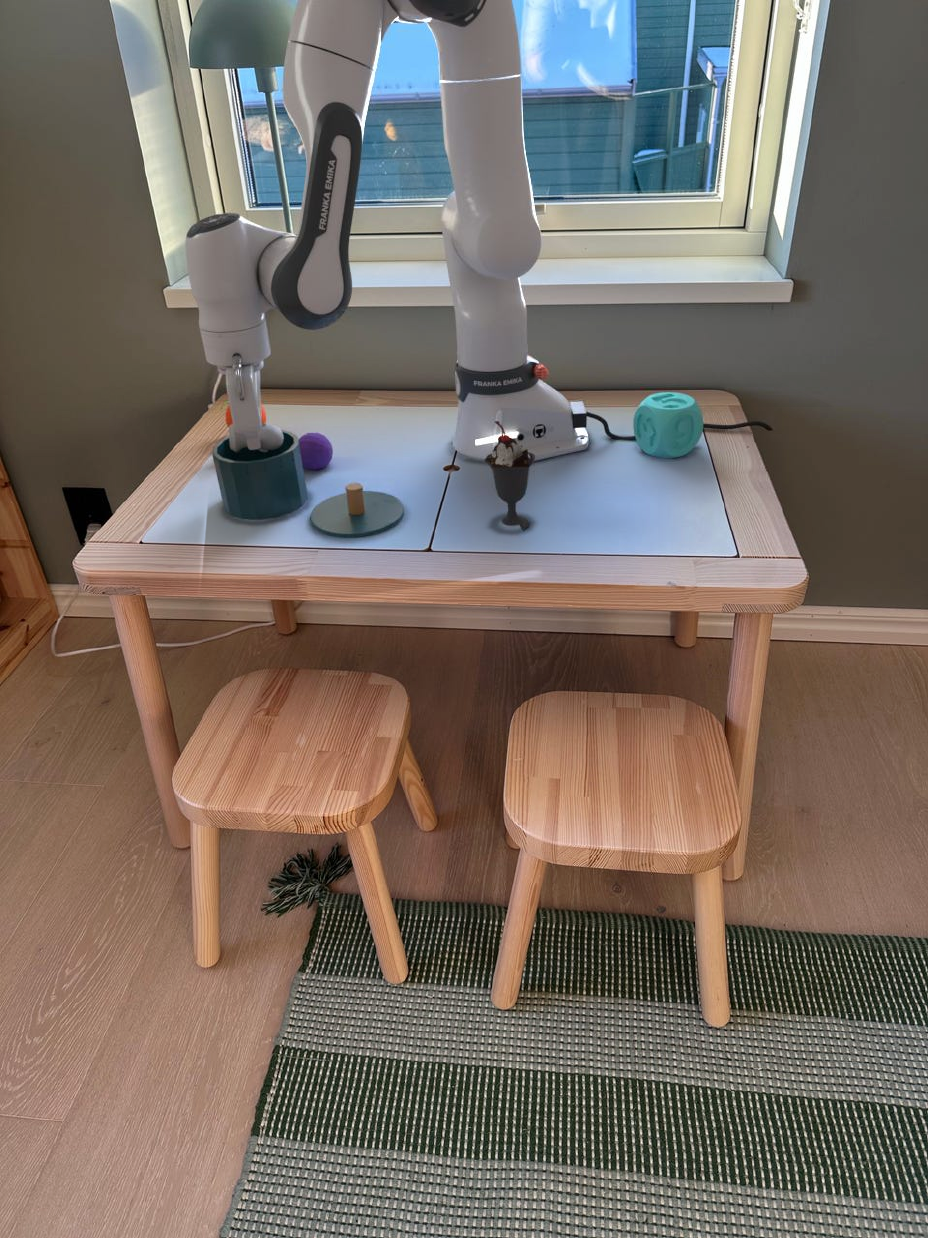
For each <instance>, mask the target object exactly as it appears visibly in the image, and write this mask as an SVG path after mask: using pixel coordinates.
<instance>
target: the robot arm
mask: <svg viewBox="0 0 928 1238" xmlns="http://www.w3.org/2000/svg"><path fill="white" fill-rule="evenodd" d="M399 23H405V24H423V23H426V25H427V26H428V28H429V29H430V32H431V33H432V36H433V38H434V41H435V45H436V50H437V53H438V76H439V77H438V78H439V91H440V104H441V105H440V106H441V118H442V119H441V121H442V133H443V146H444V150H445V153H446V156H447V160H448V165H449V169H450V174H451V178H452V184H453V191H452V192H450V194H449V195H448V196H447V197H446V198H445V200H444V202H443V204H442V207H441V211H440V221H439V222H440V229H441V233H442V238H443V239H442V240H443V247H444V255H445V263H446V269H447V274H448V280H449V281H448V282H449V286H450V292H451V296H452V303H453V310H454V320H455V335H456V336H455V337H456V338H455V339H456V353H457V355H456V356H457V360H456V361H455V363H454V364H455V366H454V367H455V368H454V369H455V371H454V382H455V383H454V384H455V393H456V396H457V399H458V400H457V401H458V403H457V417H456V426H455V432H454V436H453V440H452V447H453V449H454V450H455V451H457V452H458V453H459V454H461V455H464V456H466V457H469V458H473V459H479V460H484V461H485V459H486V456H488V455H489V454H492V451H493V449H494V446H496V445H497V444H498V437H499V436H501V435H502V429H501V427H500V426H498V425H497V424H496V423H495V421H499V424H500V425H501V426H502V427H503V429H504V431H505V434H506V435H508V436H509V437H510V438H513V439H516V440H517V441H518V442H520V443H521V445H522V448H523V449H524V450H526V449H527V450H528V452H530V453H533V454H534V455H535V460H534V462H535V461H540V460H545V459H549V458H553V457H558V456H563V455H566V454H567V455H568V454H572V453H575V452H580V451H585V450H587V448H588V447H589V444H590V439H589V433H588V431H587V429H586V428H587V423H588V422H587V421H588V418H591V419H594V420H596V421H598V422H600V423H601V424H602V426H603V429H604V432H605V434H606V436H607V437H609V438H610V439H612V440H616V441H617V440H620V441H637V440H636V438H635V435H630V436H621V435H617V434H614V433H613V432H611V430H610V426H609V424H608V421H607V420H606V419H605V418H604V417H603V416H600V415H598V414H596V413H592V412H589V411H587V410H586V407H585V404H584V401H582V400H581V401H580V400H579V401H569V400H568V399H567V398H566V397H565V396H564V395H563V394H562V393H561V392H560V391H558V390H556V389H555V388H553V387H552V386H550V385H549V384H548V383H546V382H544V381H543V380H546V379H547V377H549V373H550V372H549V369H548V368H547V367H546V366H545V364H542V363H540V362H539V361H538V359H536V358H533V357H532V356H531V354H528V309H527V304H526V301H525V297H524V293H523V290H522V287H521V286H522V285H521V279H520V277H522V276H524V275H526V274H527V273H528V272H530V270H531V269H533V267H534V266H535V264H537V261H538V259H539V257H540V254H541V250H542V243H543V242H542V241H543V237H542V232H541V228H540V225H539V222H538V218H537V215H536V208H535V203H534V195H533V188H532V183H531V182H532V181H531V177H530V176H531V175H530V171H529V170H530V169H529V166H528V160H527V155H526V147H525V137H524V118H523V117H524V116H523V115H524V114H523V113H524V112H523V93H522V92H523V87H522V86H523V85H522V59H521V47H520V39H519V32H518V31H519V30H518V26H517V20H516V14H515V7H514V4H513V0H297V2H296V5H295V9H294V13H293V16H292V21H291V25H290V29H289V35H288V39H287V44H286V50H285V55H284V64H283V72H282V103H283V105H284V108H285V111H286V113H287V115H288V118H289V119H290V121H291V122H292V124H293V125H294V127H295V128H296V130H297V132H298V135H299V137H300V140H301V142H302V146H303V149H304V153H305V154H304V155H305V161H306V163H305V164H306V171H305V179H304V186H303V195H302V201H301V208H300V215H299V221H298V228H297V233H296V234H295V233H291V232H286V231H280V230H275V229H271V228H269V227H264V226H262V225H260V224H257V223H255V222H253V221H251V220H249V219H247V218H245V217H243V215H241V214H240V213H237V212H224V213H217V214H212V215H209V216H207V217H204V218H202V219H200V220H198V221H196V222H195V223H194V224H192V225H191V227H190V228H189V229H188V231H187V233H186V236H185V259H186V267H187V273H188V279H189V283H190V289H191V292H192V293H191V294H192V296H193V298H194V300H195V302H196V304H197V308H198V328H199V332H200V337H201V341H202V346H203V350H204V351H203V352H204V355H205V361H206V362H207V363H208V364H210V365H212V366H215V367H217V372H218V373H219V374H220V375H223V376H225V387H226V393H227V394H226V395H227V399H228V400H227V401H229V402H228V407H229V406H230V411H231V416H232V422H233V426H234V429H235V432H236V433H238V434H243V433H244V435H245V437H246V441H247V446H248V448H249V449H250V450H255V449H259V448H260V447H261V444H260V437H259V431H260V430H261V428H262V421H261V405H262V397H261V394H262V393H261V370H263V368H264V367H265V363H264V360H266V359H267V358H268V357H270V356H271V354H272V349H271V344H270V338H269V331H268V325H267V321H266V313H267V312H268V311H270V310H276V309H277V310H278V311H279V312H280V313H281V315H283V317H284V318H285V319H286V320H287V321H288V322H290V323H291V324H292V325H294V326H296V327H297V328H300V329H303V330H309V331H314V330H315V331H316V330H321V329H324V328H327V327H330V326H332V325H333V324H335V323H336V322H337V321H338V320H339V319H340V318H341V317H342V316H343V315H344V314H345V312H346V311H347V309H348V308H349V304H350V302H351V299H352V292H353V281H352V280H353V279H352V271H351V265H350V257H349V256H350V255H349V245H350V237H351V230H352V225H353V217H354V210H355V204H356V199H357V198H356V197H357V192H358V191H357V190H358V183H359V178H360V170H361V162H362V154H363V142H364V135H365V134H364V133H365V126H366V124H365V123H366V118H367V113H368V109H369V103H370V98H371V93H372V89H373V85H374V81H375V75H376V71H377V65H378V61H379V60H378V59H379V54H380V49H381V48H380V47H381V45H382V42H383V40H384V37H385V35H386V33H387V31H388V30H389V28H390V26H391V25H392V24H399ZM753 426H758V427H761V428H763V429H765V430H766V431H767V432H769V431H774V429H773V428H772V426H771V425H769V424H768V423H766V422H764V421H760V420H750V421H745V422H740V423H735V424H734V423H733V424H715V423H704V422H703V429H713V430H736V429H741V428H746V427H753ZM503 436H504V432H503Z"/></svg>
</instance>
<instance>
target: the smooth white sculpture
mask: <svg viewBox="0 0 928 1238" xmlns="http://www.w3.org/2000/svg"><path fill="white" fill-rule="evenodd" d="M280 429H281V428H279V426H275V425H271V424H267V422H266V423H262V428H261V430H260V431H259V437H260V444H261V447H260V448H259V450H260V451H261V452H268V450H274V449H277V448H279V447H280V446H281V445H282V443H283V439H284V438H283V433H282V431H281V430H282V429H281V430H280ZM228 436H229V441H230V449H232V450H233V451H235V452H238V451H239V450H240V449H242V448H244V447H248V446H247V441H246V437H245V435H244V433H243V434H238V433H236V432H235V429H234V426H233V424H232V425H230V426H229V427H228Z"/></svg>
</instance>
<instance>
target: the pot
mask: <svg viewBox="0 0 928 1238" xmlns="http://www.w3.org/2000/svg"><path fill="white" fill-rule="evenodd" d="M279 429H280V430H281V431H282V433H283V438H284V439H283V443H282V445H281V446H280V447H279V448H277V449H274V450H268V452H261V451H260V450H259V449H255V450H250V449H249V448H248V447H244V448H242V449H240V450H239V451H238V452H235V451H233V450H232V449H230V441H229V435H228V436H226V437H224V438H222V439H219V440H218V441H217V442H216V444H214V445H213V446H212V449H211V451H212V452H211V456H212V459H213V464H214V469H215V474H216V478H217V482H218V486H219V493H220V496H221V501H222V505H223V510H224V511H225V512H226V513H227V514H228V515H229V516H231V517H233V518H237V519H241V520H248V521H249V520H251V521H261V520H262V521H263V520H269V519H275V518H279V517H283V516H286V515H288V514H291V513H294V511H296V510H298V509H299V508H301V507H303V506H304V504H305V503H306V502H307V500H308V489H307V484H306V478H305V471H304V467H303V465H302V459H301V452H300V446H299V436H297V435H296V434H295V433H293V432H292V431H289V430H284V429H281V428H279Z"/></svg>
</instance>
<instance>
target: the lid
mask: <svg viewBox="0 0 928 1238" xmlns="http://www.w3.org/2000/svg"><path fill="white" fill-rule="evenodd" d="M404 514H405V513H404V505H403V502H402V501H401V500H400V499H399V498H397V497H395V496H394V495H392V494H389V493H386V492H382V491H373V490H364V488H363V485H362V483H361V482H360V483H359V482H352V483H348V484H346V485H345V493H340V494H336V495H333V496H331V497H328V498H327V499H324V500H322V501H321V502H319V504H317V505H316V506H315V507H313V509H312V511H311V513H310V522H311V525H312V527H313V528H314V529H315V530H317V531H318V532H320V533H322V534H324V535H328V536H331V537H335V538H336V537H337V538H350V539H351V538H362V537H369V536H372V535H376V534H380V533H383V532H385V531H388V530H389V529H391V528H393V527H395V525H397V524H399V522H400V521H401V520H402V518H403V516H404Z"/></svg>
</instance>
